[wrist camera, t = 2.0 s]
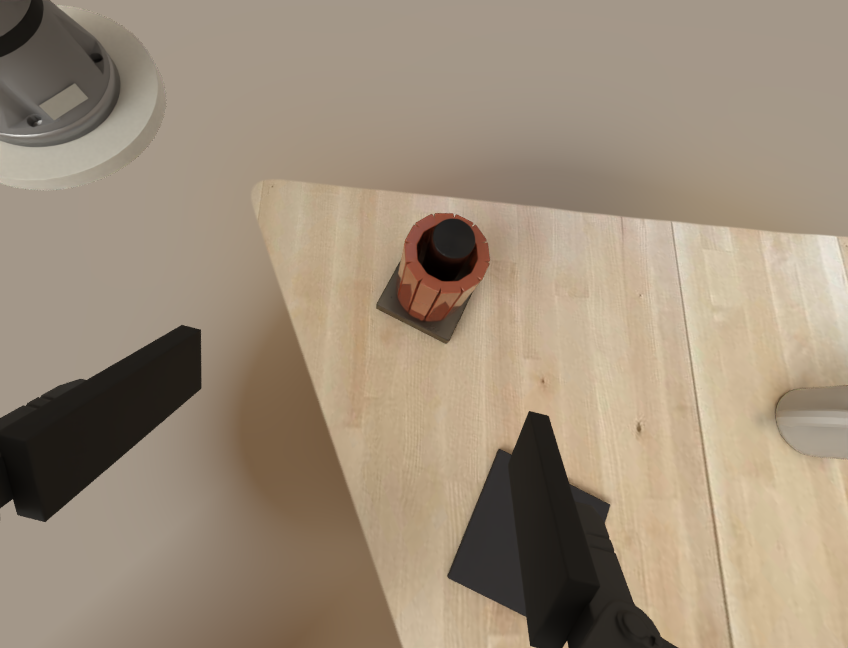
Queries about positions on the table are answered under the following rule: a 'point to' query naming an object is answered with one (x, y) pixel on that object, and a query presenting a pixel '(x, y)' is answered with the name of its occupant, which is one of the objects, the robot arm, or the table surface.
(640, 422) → the table surface
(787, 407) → the cup
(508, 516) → the mat
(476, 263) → the sleeve ring
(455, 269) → the post stand
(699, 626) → the table surface
